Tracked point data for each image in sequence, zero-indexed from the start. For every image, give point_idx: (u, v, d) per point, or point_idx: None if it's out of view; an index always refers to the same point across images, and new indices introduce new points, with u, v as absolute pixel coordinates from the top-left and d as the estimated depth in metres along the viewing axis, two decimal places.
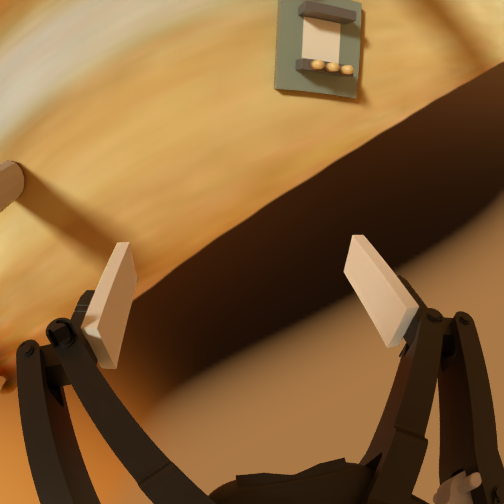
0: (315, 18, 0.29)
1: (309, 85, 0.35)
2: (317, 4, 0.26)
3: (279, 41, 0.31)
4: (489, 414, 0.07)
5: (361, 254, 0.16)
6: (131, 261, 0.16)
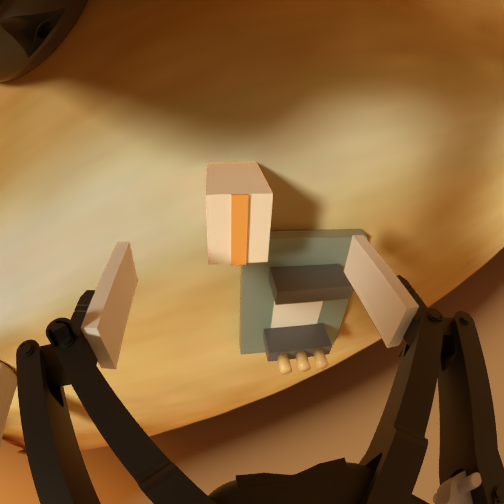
0: None
1: None
2: (294, 293, 0.25)
3: (242, 314, 0.30)
4: (490, 413, 0.07)
5: (361, 253, 0.16)
6: (131, 261, 0.16)
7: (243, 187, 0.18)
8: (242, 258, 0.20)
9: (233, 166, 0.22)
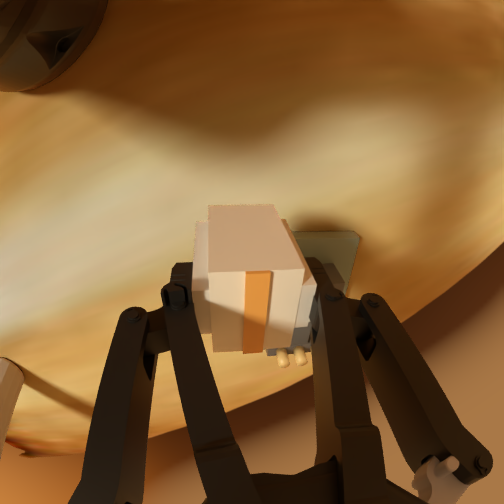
0: None
1: None
2: None
3: None
4: (439, 394, 0.08)
5: None
6: None
7: (261, 256, 0.13)
8: (258, 346, 0.14)
9: (244, 214, 0.17)
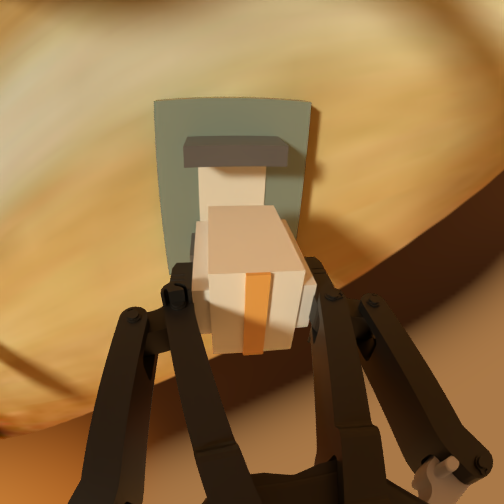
0: None
1: None
2: (206, 150, 0.18)
3: (162, 208, 0.24)
4: (439, 394, 0.08)
5: None
6: None
7: (262, 258, 0.13)
8: (258, 347, 0.14)
9: (244, 214, 0.17)
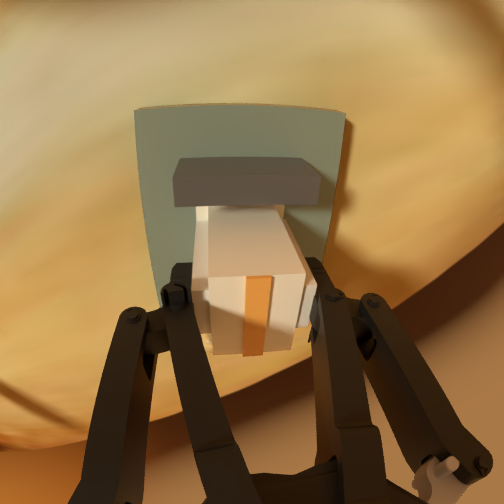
0: None
1: None
2: (205, 182, 0.13)
3: (150, 249, 0.19)
4: (439, 394, 0.08)
5: None
6: None
7: (262, 260, 0.13)
8: (258, 349, 0.14)
9: (245, 214, 0.16)
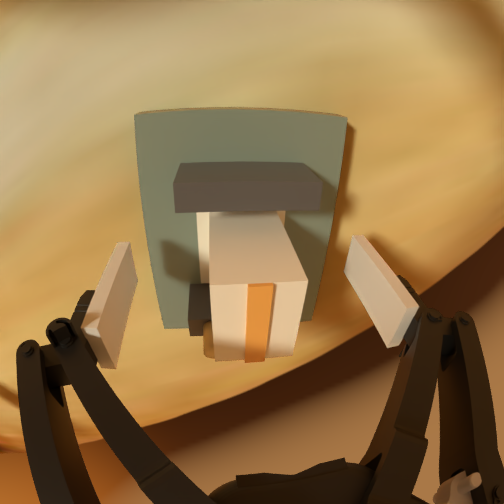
0: None
1: None
2: (206, 188, 0.13)
3: (151, 254, 0.18)
4: (490, 413, 0.07)
5: (361, 253, 0.16)
6: (131, 261, 0.16)
7: (264, 267, 0.13)
8: (260, 355, 0.14)
9: (246, 220, 0.16)
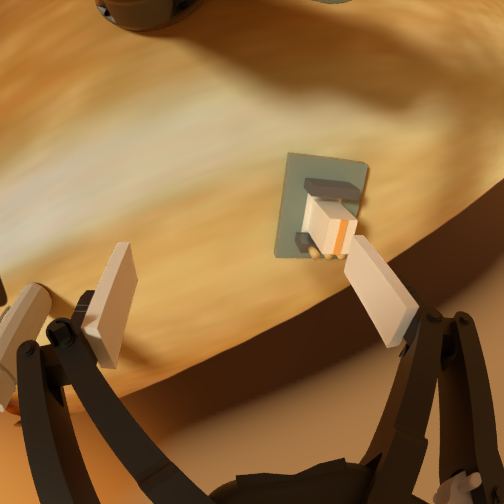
0: None
1: (305, 253, 0.46)
2: (323, 188, 0.37)
3: (283, 216, 0.42)
4: (490, 413, 0.07)
5: (361, 254, 0.16)
6: (131, 261, 0.16)
7: (343, 216, 0.36)
8: (338, 251, 0.38)
9: (329, 202, 0.40)
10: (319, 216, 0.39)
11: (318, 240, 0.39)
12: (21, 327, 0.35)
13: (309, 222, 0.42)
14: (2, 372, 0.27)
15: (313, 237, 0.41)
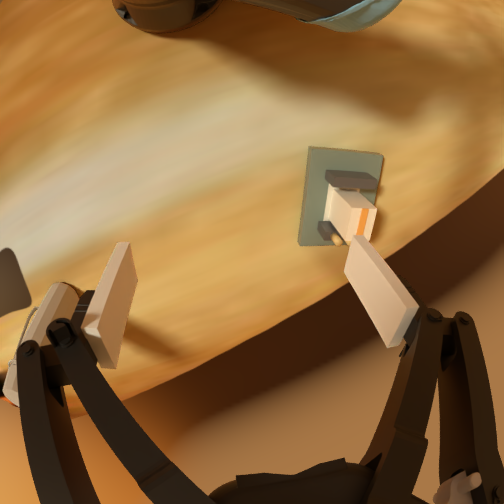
0: None
1: (327, 240, 0.48)
2: (344, 179, 0.38)
3: (306, 206, 0.44)
4: (490, 413, 0.07)
5: (361, 253, 0.16)
6: (131, 261, 0.16)
7: (363, 205, 0.38)
8: None
9: (348, 192, 0.42)
10: (340, 206, 0.40)
11: (341, 228, 0.41)
12: None
13: (330, 211, 0.44)
14: None
15: (335, 225, 0.42)
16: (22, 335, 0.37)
